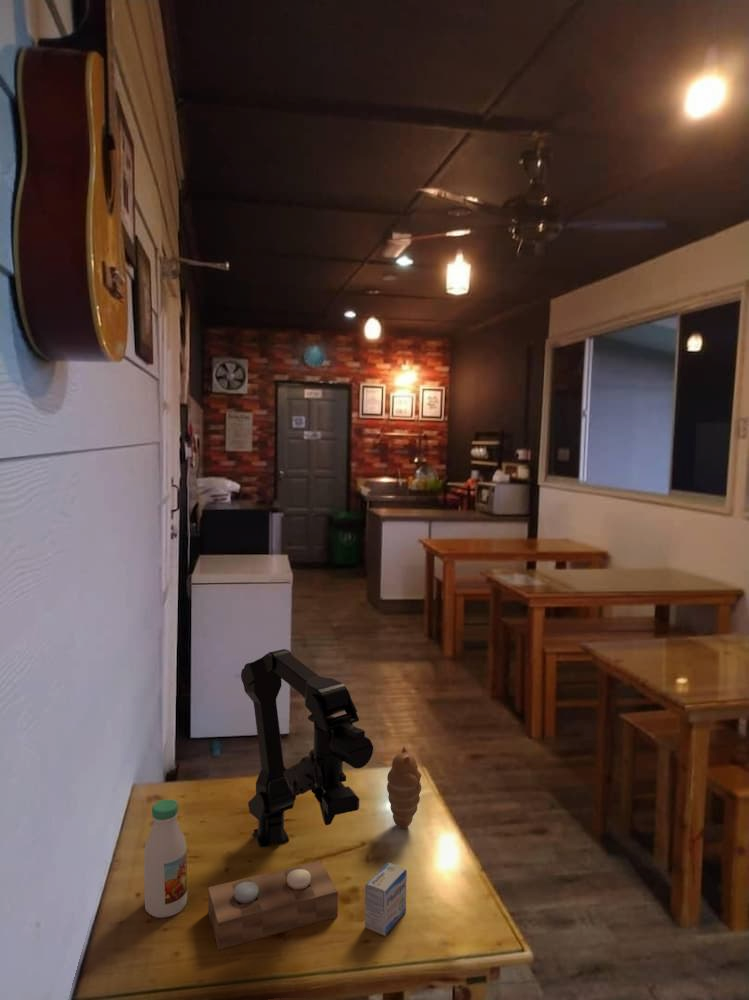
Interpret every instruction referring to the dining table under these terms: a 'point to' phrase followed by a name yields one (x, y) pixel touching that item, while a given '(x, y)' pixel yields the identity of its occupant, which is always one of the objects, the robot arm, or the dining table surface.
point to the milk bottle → (165, 862)
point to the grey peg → (245, 892)
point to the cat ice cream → (403, 788)
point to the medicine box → (385, 898)
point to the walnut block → (271, 906)
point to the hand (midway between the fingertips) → (327, 823)
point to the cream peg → (298, 879)
